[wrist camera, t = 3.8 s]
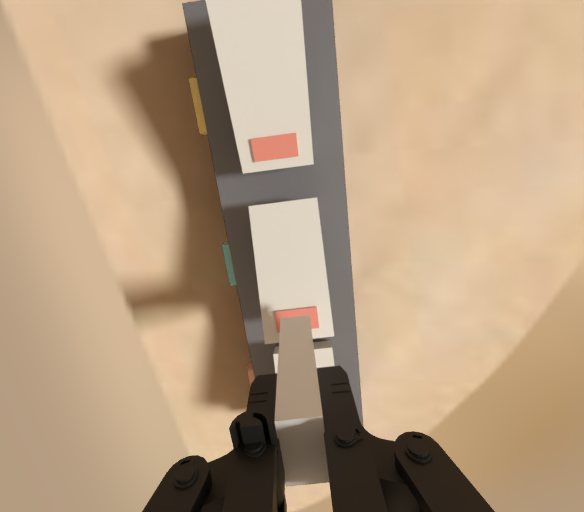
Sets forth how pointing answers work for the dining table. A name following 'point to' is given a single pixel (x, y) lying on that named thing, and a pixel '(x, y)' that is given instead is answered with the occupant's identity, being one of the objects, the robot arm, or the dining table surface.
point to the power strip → (281, 183)
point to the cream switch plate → (290, 266)
